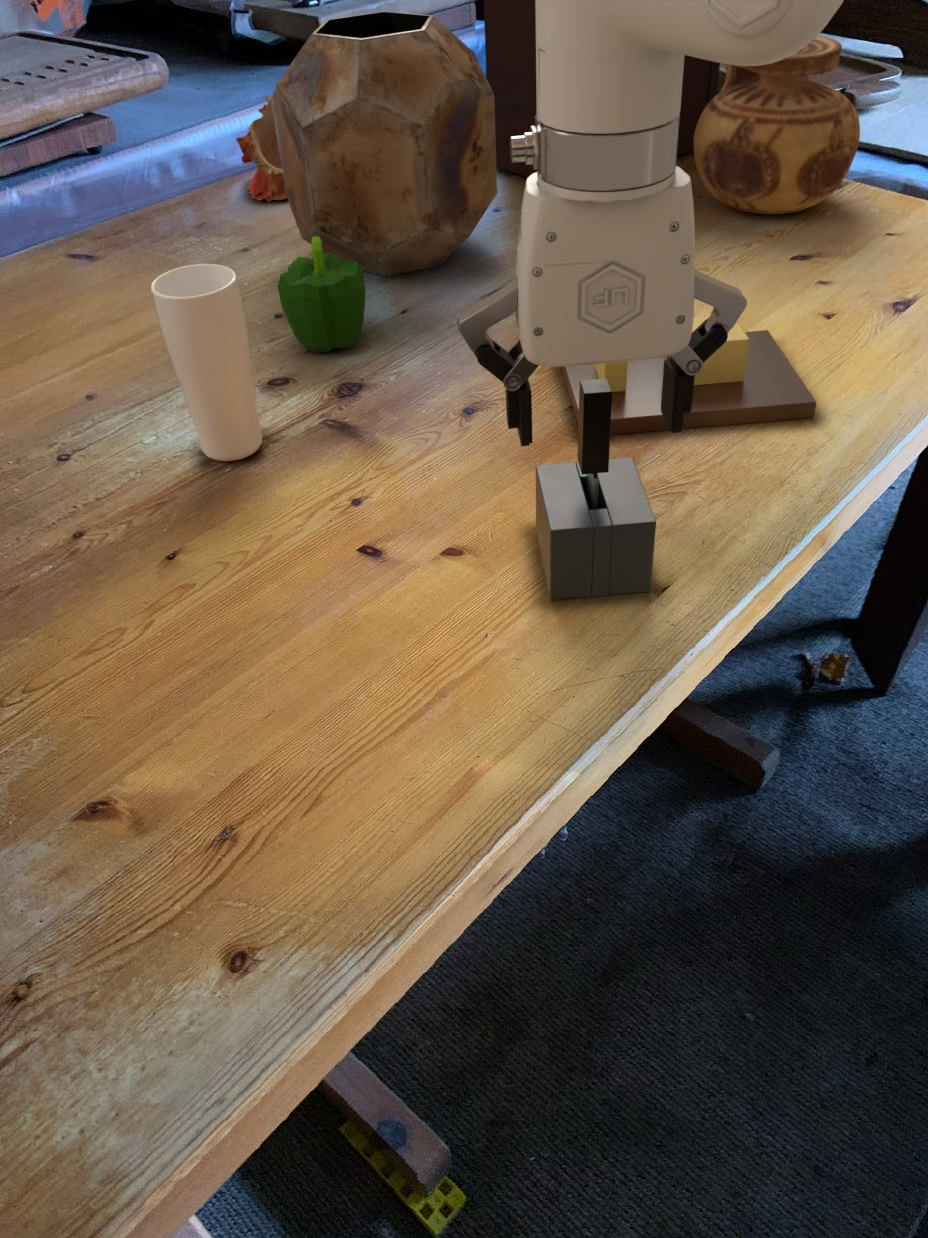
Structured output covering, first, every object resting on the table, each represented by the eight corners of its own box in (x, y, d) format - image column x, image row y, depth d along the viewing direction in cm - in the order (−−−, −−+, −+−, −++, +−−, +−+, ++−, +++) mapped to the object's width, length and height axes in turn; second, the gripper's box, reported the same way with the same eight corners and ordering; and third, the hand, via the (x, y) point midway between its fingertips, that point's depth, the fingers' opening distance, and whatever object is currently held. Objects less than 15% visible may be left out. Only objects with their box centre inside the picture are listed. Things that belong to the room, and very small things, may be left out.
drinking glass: (239, 476, 84) (198, 304, 74) (177, 458, 87) (130, 289, 77) (287, 437, 88) (255, 269, 78) (227, 421, 91) (188, 257, 81)
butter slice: (616, 364, 92) (618, 323, 89) (626, 391, 88) (628, 348, 85) (594, 366, 92) (595, 325, 89) (603, 393, 88) (605, 350, 85)
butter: (728, 355, 92) (733, 313, 89) (743, 381, 88) (749, 338, 86) (663, 360, 92) (666, 319, 89) (675, 387, 88) (679, 344, 86)
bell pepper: (357, 364, 98) (344, 263, 91) (278, 359, 100) (259, 259, 93) (382, 326, 104) (371, 229, 97) (307, 322, 106) (292, 226, 99)
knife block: (628, 524, 76) (632, 456, 72) (650, 592, 70) (656, 521, 66) (536, 532, 76) (535, 464, 72) (550, 600, 70) (550, 530, 66)
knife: (598, 546, 74) (605, 373, 65) (605, 571, 72) (614, 396, 63) (573, 548, 74) (578, 375, 65) (580, 574, 72) (585, 398, 63)
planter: (532, 236, 120) (529, 8, 105) (403, 312, 106) (378, 61, 90) (391, 206, 131) (369, -6, 115) (256, 271, 117) (211, 40, 101)
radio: (711, 147, 142) (743, -167, 119) (575, 196, 130) (581, -142, 107) (614, 122, 153) (626, -169, 130) (481, 165, 141) (468, -147, 118)
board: (765, 344, 96) (767, 329, 95) (813, 417, 86) (817, 402, 85) (558, 361, 96) (558, 346, 95) (581, 437, 86) (581, 421, 85)
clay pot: (892, 167, 123) (895, 5, 107) (801, 268, 119) (790, 115, 103) (760, 137, 134) (745, -15, 118) (673, 228, 130) (645, 85, 114)
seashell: (225, 208, 138) (316, 215, 133) (201, 126, 131) (296, 129, 125) (291, 160, 149) (378, 164, 143) (272, 81, 141) (363, 82, 136)
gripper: (451, 187, 51) (469, 471, 63) (786, 159, 52) (745, 447, 63) (443, 143, 57) (461, 411, 68) (745, 118, 57) (714, 389, 68)
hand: (597, 428), depth 66 cm, fingers open, 9 cm apart
